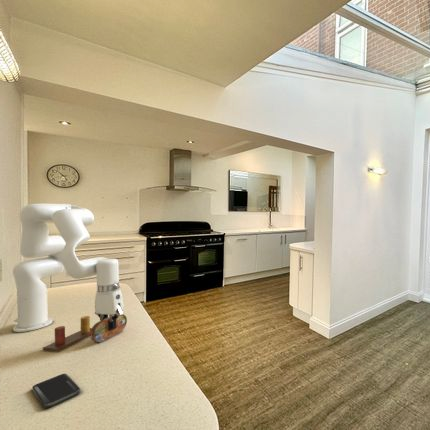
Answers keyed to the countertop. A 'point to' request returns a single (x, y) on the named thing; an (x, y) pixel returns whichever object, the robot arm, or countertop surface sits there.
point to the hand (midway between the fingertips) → (109, 328)
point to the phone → (55, 390)
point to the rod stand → (65, 342)
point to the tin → (107, 329)
